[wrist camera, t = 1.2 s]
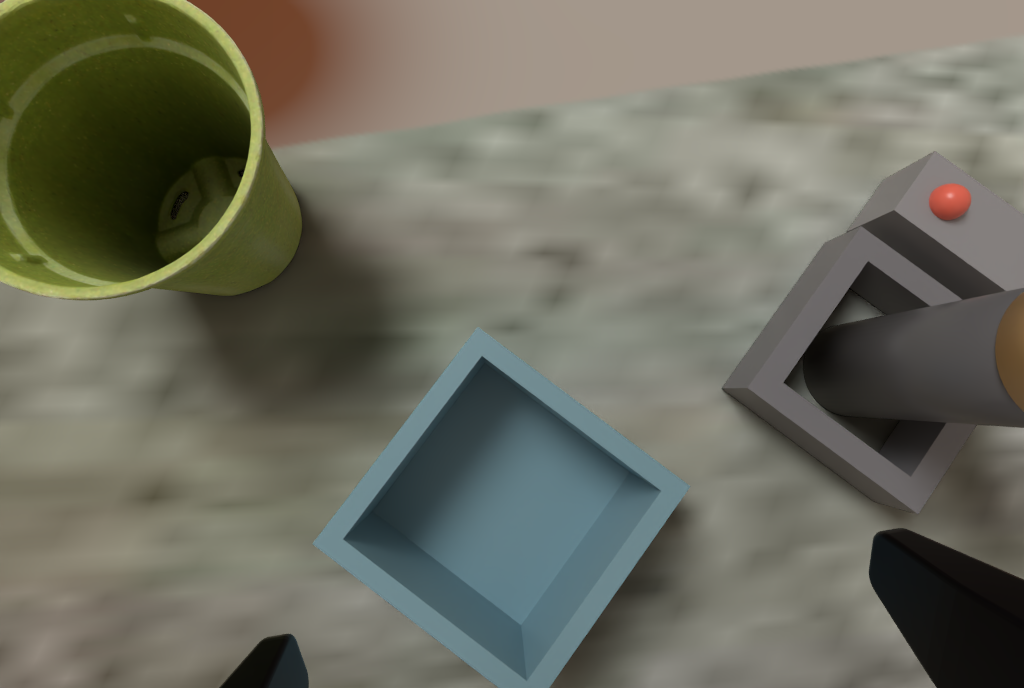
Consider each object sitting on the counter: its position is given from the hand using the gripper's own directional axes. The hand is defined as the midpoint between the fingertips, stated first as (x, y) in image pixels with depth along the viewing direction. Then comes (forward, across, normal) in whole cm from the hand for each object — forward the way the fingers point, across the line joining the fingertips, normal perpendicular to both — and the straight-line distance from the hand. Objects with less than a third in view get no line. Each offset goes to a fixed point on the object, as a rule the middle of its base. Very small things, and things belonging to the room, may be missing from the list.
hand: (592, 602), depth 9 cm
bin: (+13, +1, +7) cm, 15 cm away
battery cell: (+14, -14, +5) cm, 21 cm away
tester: (+15, -16, +3) cm, 22 cm away
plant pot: (+19, +11, -4) cm, 23 cm away
